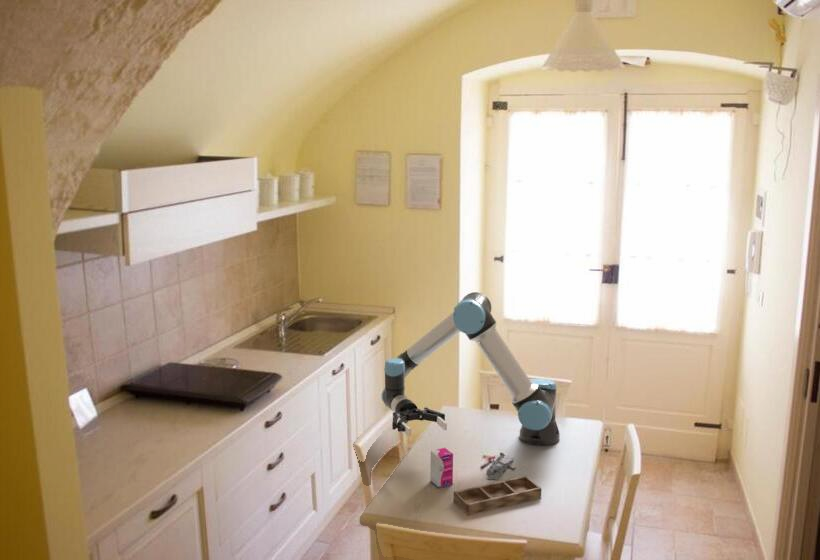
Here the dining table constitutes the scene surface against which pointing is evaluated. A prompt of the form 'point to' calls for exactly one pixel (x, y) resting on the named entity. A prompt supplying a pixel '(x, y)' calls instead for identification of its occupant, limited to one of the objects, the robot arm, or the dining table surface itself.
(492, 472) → the grey irregular piece
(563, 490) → the dining table surface
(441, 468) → the supplement box
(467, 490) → the brown wooden compartment tray
